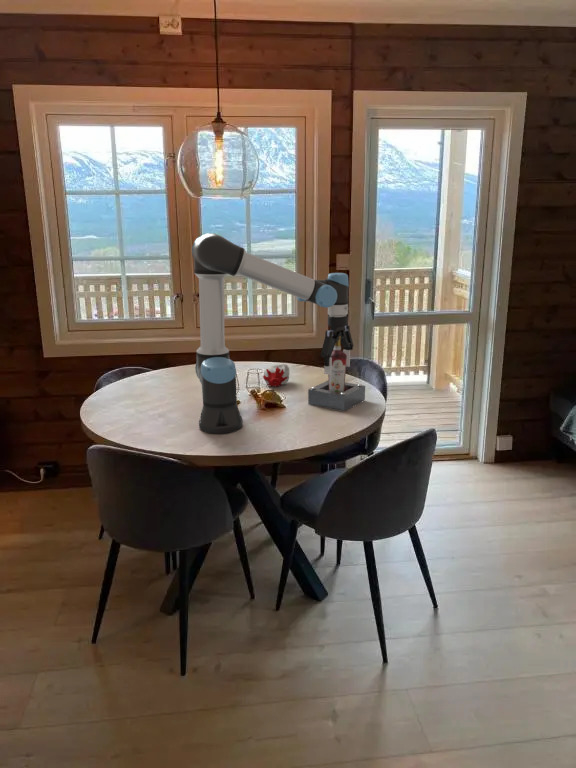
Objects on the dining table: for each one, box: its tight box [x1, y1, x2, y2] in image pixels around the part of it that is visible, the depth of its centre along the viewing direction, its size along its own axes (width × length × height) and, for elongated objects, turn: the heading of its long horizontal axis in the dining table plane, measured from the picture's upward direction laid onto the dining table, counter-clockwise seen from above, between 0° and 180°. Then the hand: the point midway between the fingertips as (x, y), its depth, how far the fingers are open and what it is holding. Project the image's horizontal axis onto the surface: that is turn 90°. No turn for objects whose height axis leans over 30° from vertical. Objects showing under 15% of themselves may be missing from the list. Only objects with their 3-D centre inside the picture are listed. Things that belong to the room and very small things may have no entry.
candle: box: [262, 363, 290, 388], centre depth 249 cm, size 9×11×15 cm
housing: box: [307, 379, 366, 412], centre depth 227 cm, size 16×16×7 cm
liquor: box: [327, 336, 347, 393], centre depth 224 cm, size 7×7×28 cm
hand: (337, 370), depth 225 cm, fingers open, 13 cm apart
